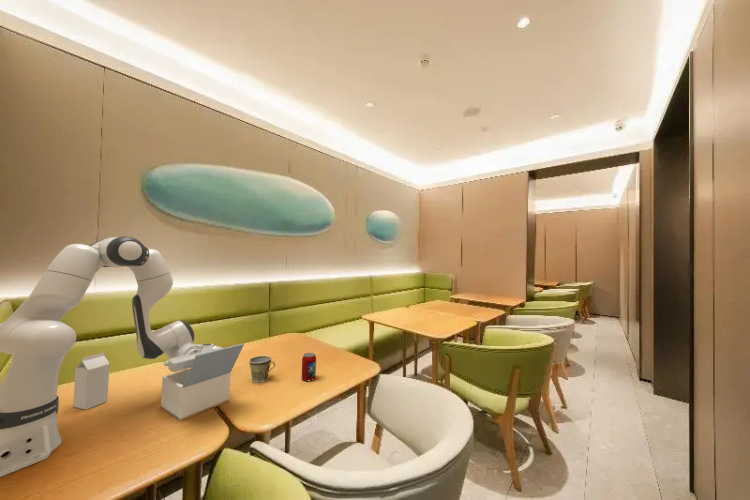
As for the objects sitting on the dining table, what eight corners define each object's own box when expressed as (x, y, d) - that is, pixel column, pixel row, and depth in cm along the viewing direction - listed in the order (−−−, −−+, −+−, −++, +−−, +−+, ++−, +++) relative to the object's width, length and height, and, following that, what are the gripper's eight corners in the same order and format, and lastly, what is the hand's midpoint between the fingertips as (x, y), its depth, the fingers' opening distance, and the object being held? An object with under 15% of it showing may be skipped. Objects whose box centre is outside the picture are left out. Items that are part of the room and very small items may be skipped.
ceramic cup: (243, 382, 134) (244, 361, 134) (257, 374, 144) (258, 354, 144) (268, 386, 131) (268, 364, 131) (280, 377, 141) (280, 357, 141)
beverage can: (312, 382, 136) (312, 357, 136) (299, 381, 137) (299, 356, 138) (317, 377, 142) (318, 352, 143) (305, 375, 144) (305, 351, 144)
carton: (159, 408, 110) (161, 376, 110) (209, 390, 126) (210, 362, 126) (178, 421, 101) (180, 387, 102) (230, 400, 117) (231, 370, 118)
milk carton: (107, 401, 114) (110, 353, 115) (85, 410, 107) (88, 359, 108) (95, 398, 116) (98, 351, 117) (72, 407, 109) (76, 357, 110)
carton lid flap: (196, 354, 98) (196, 356, 98) (243, 343, 113) (244, 344, 113) (182, 386, 102) (183, 387, 102) (229, 371, 117) (230, 372, 117)
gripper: (162, 354, 109) (178, 362, 101) (216, 342, 126) (233, 348, 118) (161, 371, 108) (177, 380, 101) (215, 357, 125) (233, 363, 118)
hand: (208, 362), depth 110 cm, fingers closed
